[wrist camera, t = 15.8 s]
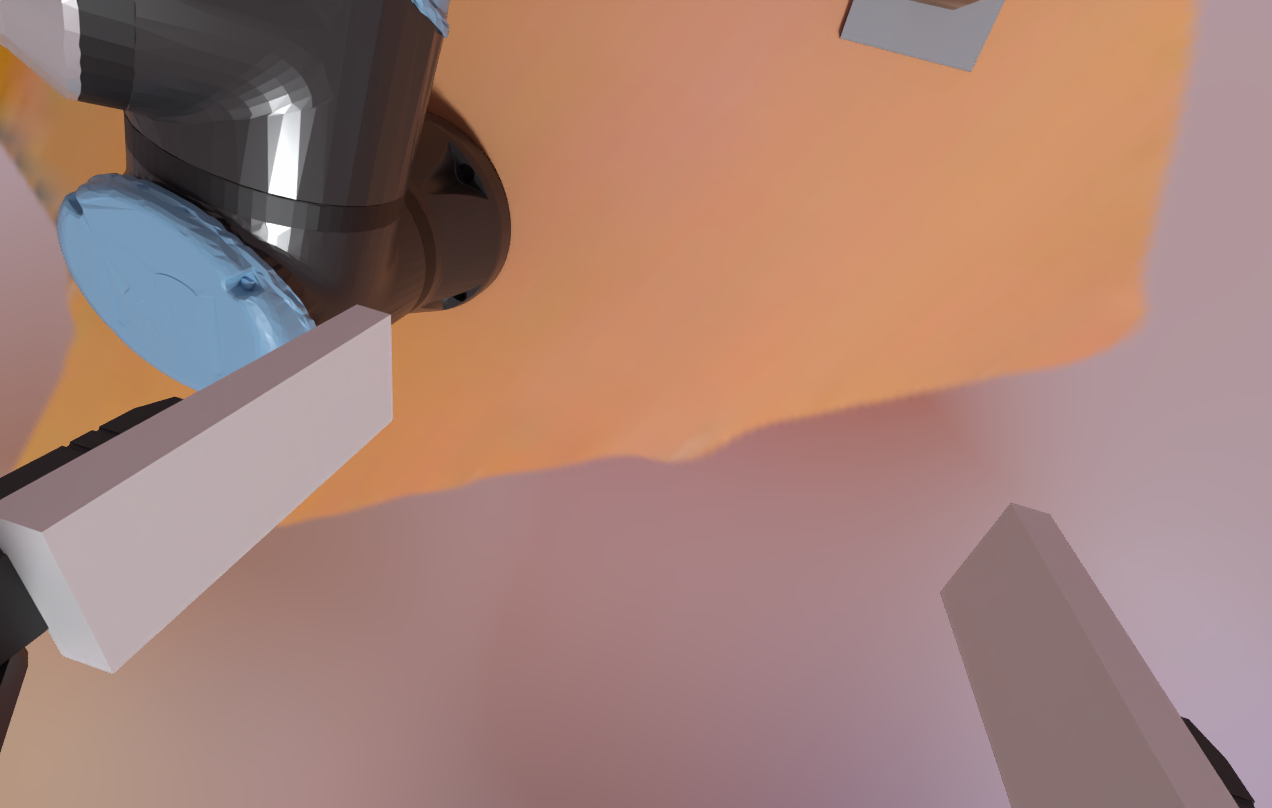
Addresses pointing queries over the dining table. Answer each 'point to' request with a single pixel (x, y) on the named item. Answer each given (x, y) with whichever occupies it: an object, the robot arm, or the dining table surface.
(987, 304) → the dining table surface
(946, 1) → the walnut rod
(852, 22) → the mat
